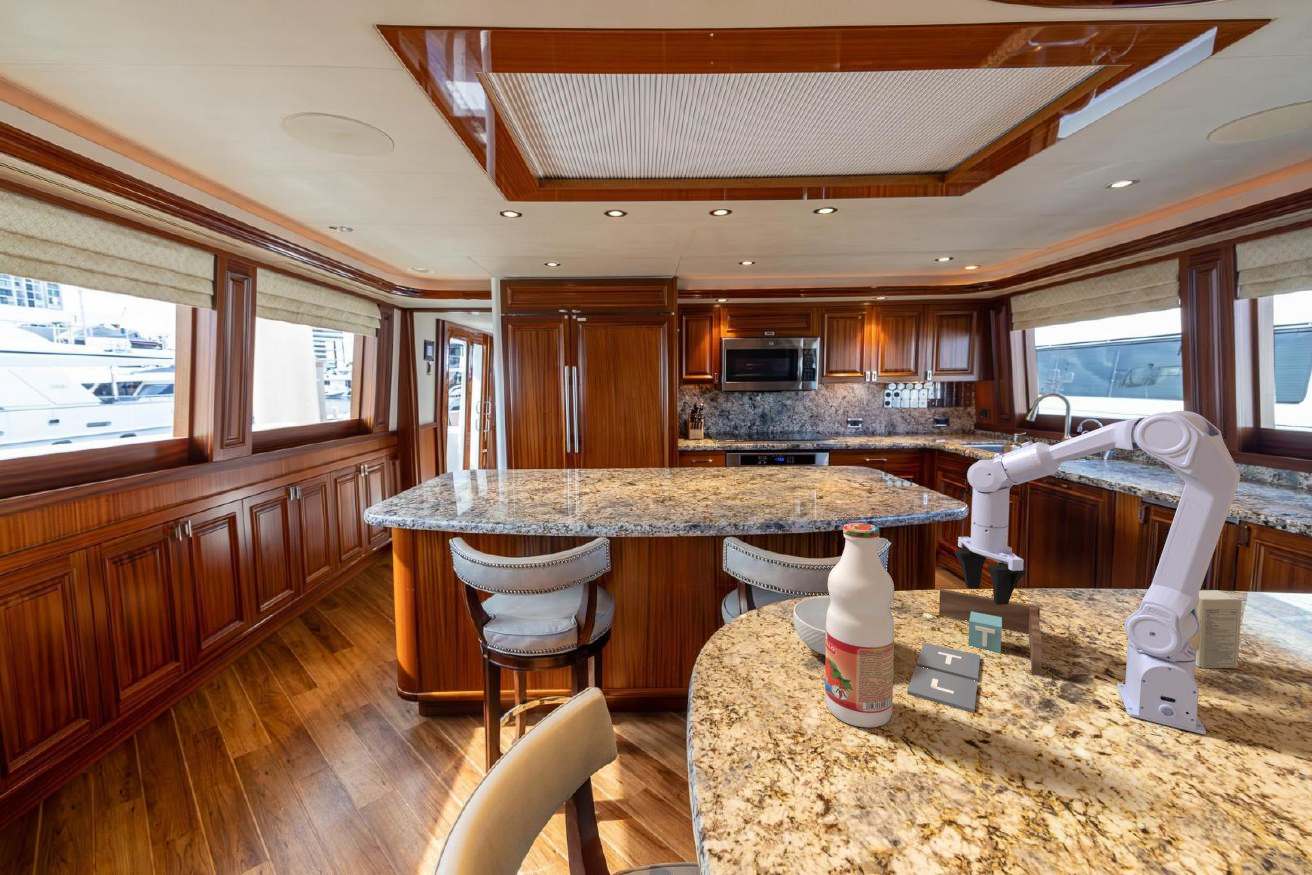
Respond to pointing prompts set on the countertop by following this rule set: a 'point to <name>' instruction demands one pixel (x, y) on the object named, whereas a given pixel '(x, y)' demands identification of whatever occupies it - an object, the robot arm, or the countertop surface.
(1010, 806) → the countertop surface
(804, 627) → the cereal bowl
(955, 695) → the tile
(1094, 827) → the countertop surface
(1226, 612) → the skincare box
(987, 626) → the light blue cube
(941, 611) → the walnut screen
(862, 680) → the fruit juice
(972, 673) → the tile
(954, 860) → the countertop surface
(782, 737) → the countertop surface
